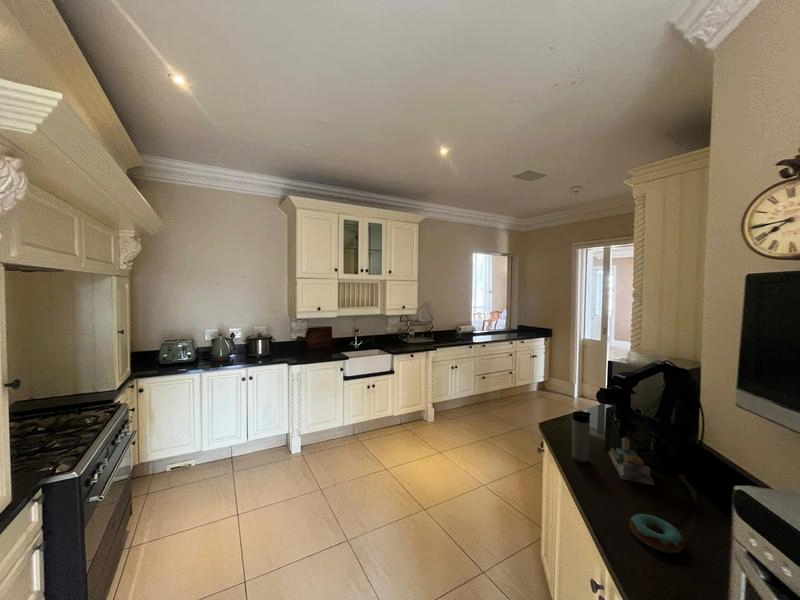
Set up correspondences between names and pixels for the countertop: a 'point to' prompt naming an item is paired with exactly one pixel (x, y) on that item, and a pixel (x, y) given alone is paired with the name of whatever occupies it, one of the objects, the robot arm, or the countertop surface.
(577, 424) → the travel mug
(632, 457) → the box
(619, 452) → the ram
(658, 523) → the donut
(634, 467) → the frame
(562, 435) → the countertop surface
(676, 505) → the countertop surface
